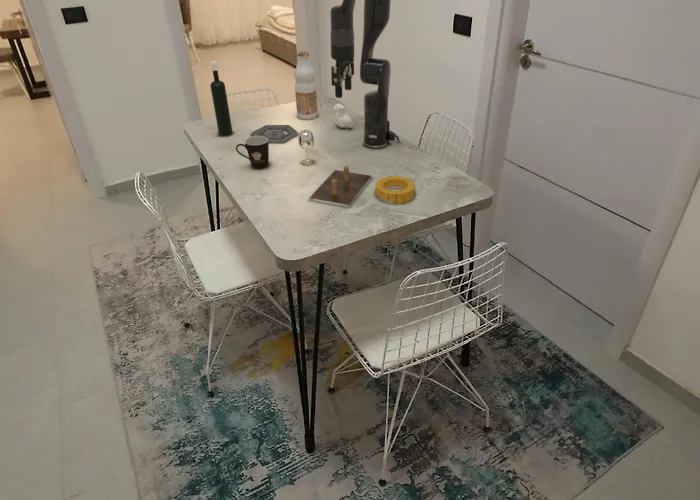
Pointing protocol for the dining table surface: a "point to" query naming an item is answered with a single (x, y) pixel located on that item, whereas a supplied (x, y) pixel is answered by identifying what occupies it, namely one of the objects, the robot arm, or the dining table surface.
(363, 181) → the rack
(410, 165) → the dining table surface
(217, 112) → the wine bottle
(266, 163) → the coffee mug
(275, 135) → the grey hexagonal frame
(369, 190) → the dining table surface
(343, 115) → the bust
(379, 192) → the yellow segmented ring
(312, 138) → the wineglass
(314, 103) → the white milk bottle
